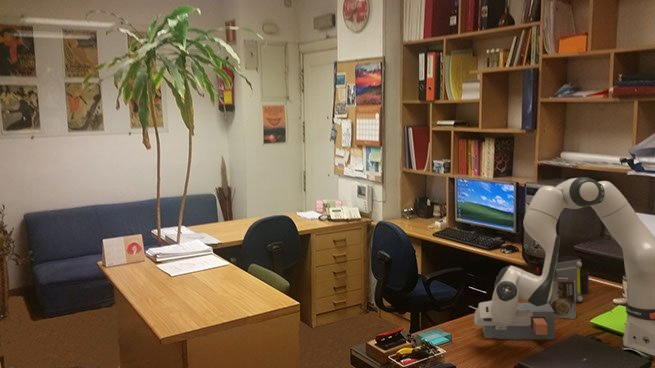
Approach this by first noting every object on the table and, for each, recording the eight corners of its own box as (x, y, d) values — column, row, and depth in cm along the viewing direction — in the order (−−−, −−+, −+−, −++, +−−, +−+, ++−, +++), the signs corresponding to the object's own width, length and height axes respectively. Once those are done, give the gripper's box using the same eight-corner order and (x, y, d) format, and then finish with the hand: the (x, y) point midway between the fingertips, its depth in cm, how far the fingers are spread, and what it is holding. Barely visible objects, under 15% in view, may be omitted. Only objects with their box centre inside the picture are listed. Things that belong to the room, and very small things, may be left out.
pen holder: (573, 288, 270) (573, 268, 269) (592, 291, 263) (592, 271, 262) (563, 292, 264) (563, 272, 264) (583, 296, 257) (582, 275, 256)
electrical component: (551, 308, 244) (550, 264, 242) (537, 301, 254) (536, 259, 252) (584, 302, 249) (584, 259, 247) (569, 296, 258) (568, 255, 257)
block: (555, 339, 210) (554, 311, 209) (484, 338, 215) (483, 311, 213) (549, 329, 220) (548, 303, 219) (482, 329, 225) (481, 303, 224)
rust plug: (547, 334, 203) (547, 324, 203) (536, 334, 204) (535, 324, 203) (541, 324, 213) (541, 314, 213) (531, 324, 214) (530, 314, 214)
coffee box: (576, 314, 235) (575, 277, 233) (575, 319, 229) (574, 282, 227) (553, 312, 239) (552, 276, 237) (551, 317, 233) (551, 280, 231)
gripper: (532, 302, 199) (528, 319, 209) (474, 302, 203) (473, 319, 213) (534, 319, 195) (530, 335, 205) (475, 318, 199) (474, 334, 209)
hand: (501, 327), depth 209 cm, fingers closed
